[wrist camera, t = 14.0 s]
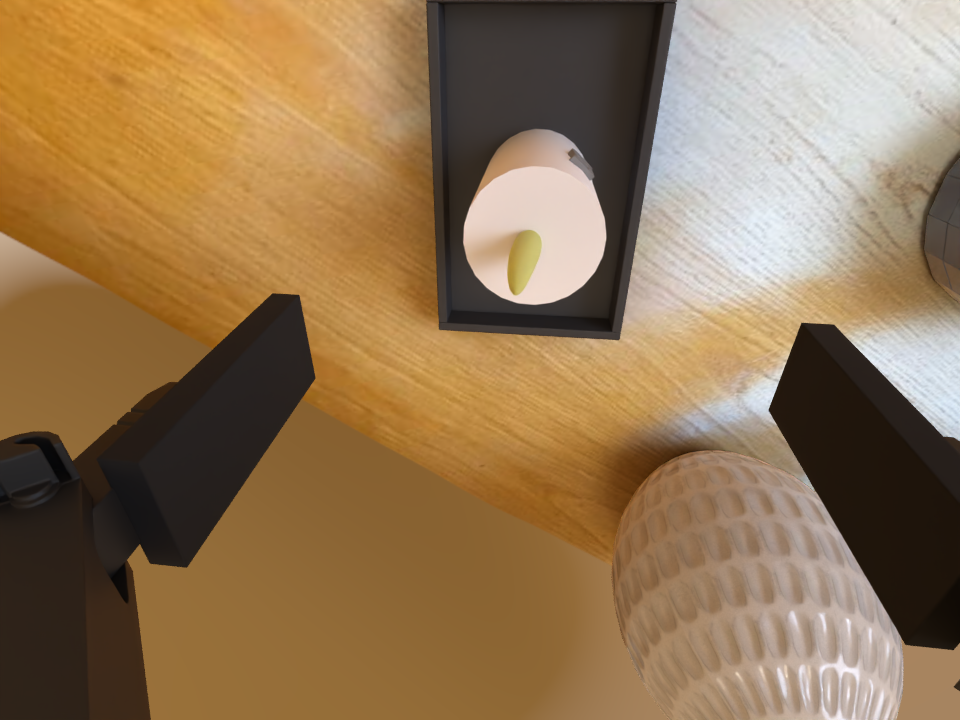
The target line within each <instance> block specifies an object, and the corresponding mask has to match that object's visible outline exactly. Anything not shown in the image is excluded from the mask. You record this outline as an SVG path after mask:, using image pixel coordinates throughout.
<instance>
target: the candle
mask: <svg viewBox="0 0 960 720" xmlns="http://www.w3.org/2000/svg"><path fill="white" fill-rule="evenodd" d="M593 178H594V174H593V171H592V167H591V166H590V165H589V164H588V163H587V161H586V160H585V159H584V157H583V155H582V153H581V152H580V151H579V149H578V148H577V147H576V145H575V144H574V143H573V142H572V141H570V140H569V139H568V138H566V137H565V136H564V135H562V134H559V133H556V132H554V131H551V130H544V129H532V130H528V131H523V132H520V133H518V134H516V135H514V136H512V137H510V138H509V139H508V140H506V141H505V142H504V143H503V144H502V145H501V146H500V147H499V148H498V149H497V151H496V152H495V154H494V156H493V157H492V159H491V160H490V163H489V165H488V167H487V169H486V172H485V174H484V176H483V178H482V181H481V183H480V185H479V187H478V190H477V192H476V194H475V197H474V199H473V201H472V203H471V206H470V208H469V211H468V214H467V217H466V221H465V224H464V239H463V244H464V248H465V252H466V257H467V261H468V262H469V264H470V266H471V268H472V270H473V272H474V274H475V276H476V277H477V278H478V279H479V280H480V281H481V282H482V283H483V284H484V285H485V287H486V288H488V289H489V290H491V291H492V292H494V293H495V294H497V295H498V296H500V297H501V298H504V299H507V300H510V301H513V302H516V303H520V304H531V305H538V304H545V303H552V302H555V301H557V300H560V299H562V298H565V297H567V296H569V295H571V294H572V293H574V292H575V291H576V290H578V289H579V288H581V287H582V286H583V285H584V284H585V283H586V282H587V281H588V280H589V278H590V277H591V276H592V275H593V274H594V273H595V271H596V269H597V267H598V265H599V263H600V261H601V259H602V257H603V253H604V248H605V242H606V227H605V218H604V215H603V212H602V209H601V206H600V203H599V200H598V197H597V195H596V192H595V189H594V186H593V183H592V179H593Z"/></svg>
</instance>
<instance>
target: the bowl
mask: <svg viewBox="0 0 960 720" xmlns="http://www.w3.org/2000/svg"><path fill="white" fill-rule="evenodd" d="M924 251H925V254H926V258H927V261H928V264H929V267H930V270H931V273H932V276H933V278H934V280H935V281H936V282H937V283H938V284H939V285H940V286H941V287H942V288H943V289H944V290H945V291H946V292H947V293H948V294H949V295H950V296H951V297H952V298H953V299H954V300H956V301H958V302H959V303H960V158H959V159H958V160H957V162H956V163H955V164H954V165H953V167H952V168H951V169H950V170H949V172H948V173H947V175H946V176H945V178H944V180H943V183H942V185H941V187H940V189H939V191H938V193H937V196H936V198H935V200H934V202H933V204H932V207H931V209H930V211H929V214H928V217H927V226H926V235H925V244H924Z"/></svg>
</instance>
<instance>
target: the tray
mask: <svg viewBox="0 0 960 720" xmlns="http://www.w3.org/2000/svg"><path fill="white" fill-rule="evenodd" d="M426 1H427V4H426V6H427V32H428V58H429V83H430V109H431V135H432V161H433V186H434V212H435V238H436V264H437V289H438V315H439V330H451V331H468V332H486V333H503V334H521V335H539V336H556V337H574V338H591V339H609V340H619V339H620V334H621V333H620V332H621V328H622V322H623V316H624V310H625V304H626V298H627V293H628V287H629V281H630V275H631V269H632V263H633V257H634V251H635V245H636V239H637V234H638V228H639V222H640V216H641V210H642V204H643V198H644V192H645V186H646V180H647V174H648V169H649V163H650V157H651V151H652V145H653V139H654V133H655V127H656V121H657V115H658V109H659V104H660V98H661V92H662V86H663V80H664V74H665V68H666V62H667V56H668V50H669V45H670V39H671V33H672V27H673V21H674V15H675V9H676V3H675V2H677V0H426ZM532 129H544V130H551V131H554V132H556V133H559V134H562V135H564V136H565V137H566V138H568V139H569V140H570V141H572V142H573V143H574V144H575V145H576V147H577V148H578V149H579V151H580V152H581V153H582V155H583V157H584V159H585V160H586V161H587V163H588V164H589V165H590V166H591V167H592V171H593V174H594V178H593V179H592V183H593V186H594V189H595V192H596V195H597V197H598V200H599V203H600V206H601V209H602V212H603V215H604V218H605V227H606V242H605V248H604V253H603V257H602V259H601V261H600V263H599V265H598V267H597V269H596V271H595V273H594V274H593V275H592V276H591V277H590V278H589V280H588V281H587V282H586V283H585V284H584V285H583V286H582V287H581V288H579V289H578V290H576V291H575V292H574V293H572V294H571V295H569V296H567V297H565V298H562V299H560V300H557V301H555V302H552V303H545V304H538V305H531V304H520V303H516V302H513V301H510V300H507V299H504V298H501V297H500V296H498V295H497V294H495V293H494V292H492V291H491V290H489V289H488V288H486V287H485V285H484V284H483V283H482V282H481V281H480V280H479V279H478V278H477V277H476V276H475V274H474V272H473V270H472V268H471V266H470V264H469V262H468V261H467V257H466V252H465V248H464V244H463V239H464V224H465V221H466V217H467V214H468V211H469V208H470V206H471V203H472V201H473V199H474V197H475V194H476V192H477V190H478V187H479V185H480V183H481V181H482V178H483V176H484V174H485V172H486V169H487V167H488V165H489V163H490V160H491V159H492V157H493V156H494V154H495V152H496V151H497V149H498V148H499V147H500V146H501V145H502V144H503V143H504V142H505V141H506V140H508V139H509V138H510V137H512V136H514V135H516V134H518V133H520V132H523V131H528V130H532Z"/></svg>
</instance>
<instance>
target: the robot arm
mask: <svg viewBox="0 0 960 720" xmlns="http://www.w3.org/2000/svg"><path fill="white" fill-rule="evenodd" d="M314 380H315V373H314V368H313V363H312V358H311V353H310V347H309V342H308V337H307V332H306V327H305V322H304V317H303V312H302V306H301V301H300V296H299V295H291V294H271V295H270V296H269V297H268V298H267V299H266V300H265V301H264V302H263V303H262V304H261V305H260V306H259V307H258V308H257V309H255V310H254V311H253V312H252V313H251V314H250V315H249V316H248V317H247V318H246V319H245V320H244V321H243V322H242V323H241V324H239V325H238V326H237V327H236V328H235V329H234V330H233V331H232V332H231V333H230V334H229V335H228V336H227V337H226V338H225V339H223V340H222V341H221V342H220V343H219V344H218V345H217V346H216V347H215V348H214V349H213V350H212V351H211V352H210V353H209V354H207V355H206V356H205V357H204V358H203V359H202V360H201V361H200V362H199V363H198V364H197V365H196V366H195V367H194V368H193V369H192V370H191V371H189V372H188V373H187V374H186V375H185V376H184V377H183V378H182V379H181V380H180V381H179V382H169V383H167V384H165V385H164V386H162V387H160V388H158V389H156V390H154V391H152V392H151V393H149V394H147V395H146V396H145V397H144V398H143V399H142V400H141V401H139V402H138V403H137V404H136V405H135V406H134V407H133V408H131V412H127V413H126V414H125V415H124V416H123V417H122V418H120V419H119V420H118V421H117V425H113V426H111V427H110V428H109V429H108V430H107V431H106V432H105V433H104V434H102V435H101V436H100V437H99V438H98V439H97V440H96V441H95V442H94V443H93V444H91V445H90V446H89V447H88V448H87V449H86V450H85V451H84V452H82V453H81V454H80V455H79V456H78V457H77V458H76V459H75V460H73V461H72V460H71V458H70V456H69V455H68V452H67V450H66V449H65V447H64V445H63V443H62V441H61V440H60V438H59V436H58V435H56V434H53V433H51V432H29V433H24V434H19V435H15V436H12V437H9V438H7V439H4V440H1V441H0V720H151V718H150V710H149V702H148V693H147V685H146V678H145V669H144V660H143V653H142V644H141V636H140V628H139V619H138V612H137V603H136V594H135V586H134V579H133V571H132V569H131V567H130V565H129V563H128V561H127V559H128V558H129V556H130V555H131V554H132V553H133V552H134V550H135V549H136V548H137V547H138V545H139V544H140V545H141V547H142V549H143V551H144V552H145V555H146V557H147V558H148V560H149V562H150V563H151V564H159V565H168V566H177V567H188V565H189V564H190V562H191V561H192V559H193V558H194V556H195V555H196V553H197V552H198V550H199V549H200V547H201V546H202V545H203V543H204V542H205V540H206V539H207V537H208V536H209V534H210V533H211V531H212V530H213V528H214V527H215V525H216V524H217V522H218V521H219V520H220V518H221V517H222V515H223V513H224V512H225V511H226V509H227V508H228V506H229V505H230V503H231V502H232V500H233V499H234V497H235V496H236V495H237V493H238V491H239V490H240V489H241V487H242V486H243V484H244V483H245V481H246V480H247V478H248V477H249V475H250V474H251V472H252V471H253V469H254V468H255V466H256V465H257V463H258V462H259V461H260V459H261V458H262V456H263V454H264V453H265V452H266V450H267V449H268V447H269V446H270V444H271V443H272V442H273V440H274V439H275V437H276V436H277V434H278V433H279V431H280V430H281V428H282V427H283V425H284V424H285V422H286V421H287V419H288V418H289V416H290V415H291V414H292V412H293V410H294V409H295V408H296V406H297V405H298V403H299V402H300V400H301V399H302V397H303V396H304V394H305V393H306V391H307V390H308V388H309V387H310V386H311V384H312V383H313V381H314ZM769 412H770V414H771V415H772V417H773V419H774V420H775V422H776V424H777V426H778V427H779V429H780V431H781V432H782V434H783V436H784V438H785V439H786V441H787V443H788V444H789V446H790V448H791V450H792V451H793V453H794V455H795V456H796V458H797V460H798V462H799V463H800V465H801V467H802V468H803V470H804V472H805V474H806V475H807V477H808V479H809V480H810V482H811V484H812V486H813V487H814V489H815V491H816V492H817V494H818V496H819V498H820V499H821V501H822V503H823V504H824V506H825V508H826V510H827V511H828V513H829V515H830V516H831V518H832V520H833V521H834V523H835V525H836V527H837V528H838V530H839V532H840V533H841V535H842V537H843V539H844V540H845V542H846V544H847V545H848V547H849V549H850V551H851V552H852V554H853V556H854V557H855V559H856V561H857V563H858V564H859V566H860V568H861V569H862V571H863V573H864V575H865V576H866V578H867V580H868V581H869V583H870V585H871V587H872V588H873V590H874V592H875V593H876V595H877V597H878V599H879V600H880V602H881V604H882V605H883V607H884V609H885V611H886V612H887V614H888V616H889V617H890V619H891V621H892V623H893V624H894V626H895V628H896V629H897V631H898V633H899V635H900V636H901V638H902V640H903V641H904V643H905V645H911V646H921V647H930V648H939V649H948V650H954V649H955V648H956V647H957V645H958V644H959V643H960V441H958V440H957V439H955V438H953V437H943V436H942V435H941V434H940V433H939V432H938V431H937V430H936V429H935V428H934V426H933V425H932V424H931V423H930V422H929V421H928V420H927V419H926V418H925V417H924V416H923V415H922V414H921V413H920V412H919V411H918V410H917V409H916V408H915V407H914V406H913V405H912V404H911V403H910V402H909V401H908V400H907V399H906V398H905V397H904V396H903V395H902V394H901V393H900V392H899V391H898V390H897V389H896V388H895V387H894V386H893V385H892V384H891V383H890V382H889V381H888V380H887V379H886V378H885V376H884V375H883V374H882V373H881V372H880V371H879V370H878V369H877V368H876V367H875V366H874V365H873V364H872V363H871V362H870V361H869V360H868V359H867V358H866V357H865V356H864V355H863V354H862V353H861V352H860V351H859V350H858V349H857V348H856V347H855V346H854V345H853V344H852V343H851V342H850V341H849V340H848V339H847V338H846V337H845V336H844V335H843V334H842V333H841V332H840V331H839V330H838V329H837V328H836V326H835V325H831V324H813V323H801V326H800V328H799V331H798V334H797V336H796V339H795V342H794V344H793V347H792V349H791V352H790V355H789V357H788V360H787V363H786V365H785V368H784V371H783V373H782V376H781V379H780V381H779V384H778V386H777V389H776V392H775V394H774V397H773V400H772V402H771V405H770V408H769ZM954 687H955V688H956V689H957V690H959V691H960V680H959V681H958V682H957V683H956V685H955V686H954Z"/></svg>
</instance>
